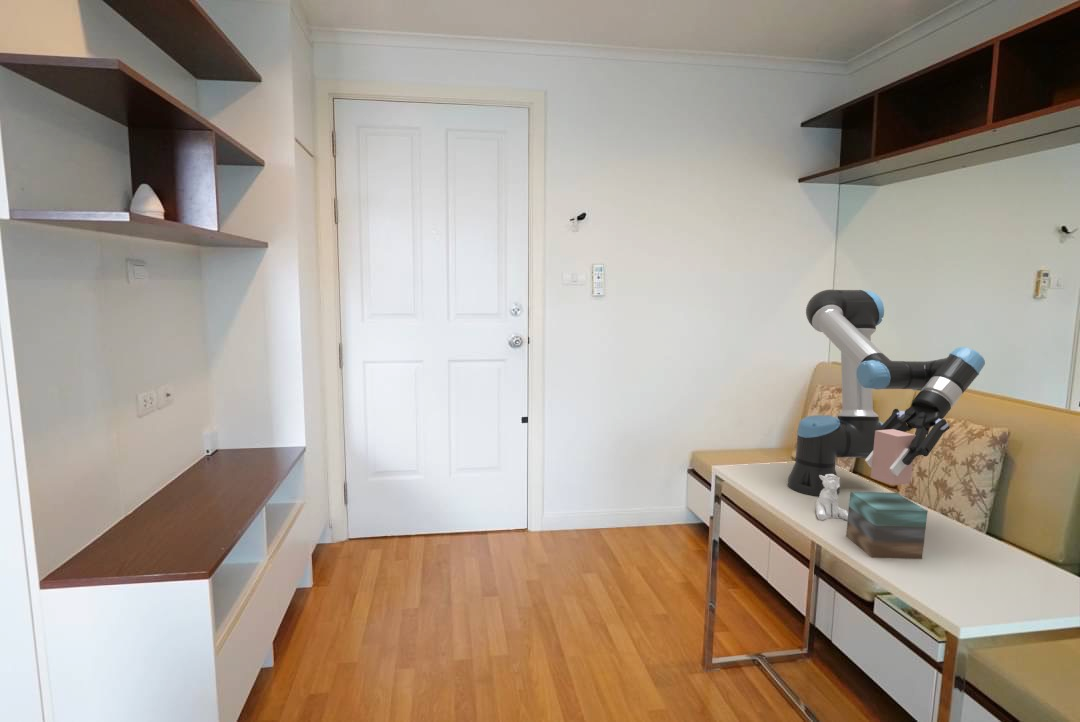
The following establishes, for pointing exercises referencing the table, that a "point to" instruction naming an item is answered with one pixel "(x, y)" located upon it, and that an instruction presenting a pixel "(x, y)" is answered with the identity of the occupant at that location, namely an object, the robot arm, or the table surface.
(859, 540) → the teal topped wooden cube
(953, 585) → the table surface
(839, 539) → the table surface
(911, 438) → the rose brick
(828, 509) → the sitting furry creature
